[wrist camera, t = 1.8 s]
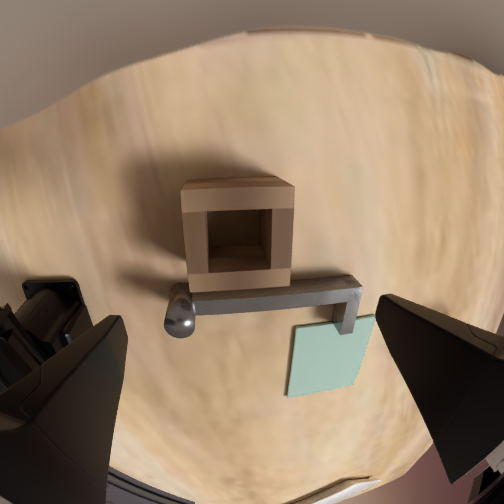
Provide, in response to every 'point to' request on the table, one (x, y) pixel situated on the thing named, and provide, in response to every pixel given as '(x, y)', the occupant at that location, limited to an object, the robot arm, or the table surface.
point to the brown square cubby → (238, 257)
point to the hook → (265, 302)
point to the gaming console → (136, 491)
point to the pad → (327, 356)
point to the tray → (340, 491)
